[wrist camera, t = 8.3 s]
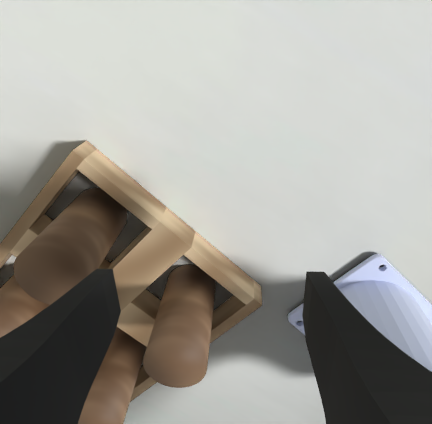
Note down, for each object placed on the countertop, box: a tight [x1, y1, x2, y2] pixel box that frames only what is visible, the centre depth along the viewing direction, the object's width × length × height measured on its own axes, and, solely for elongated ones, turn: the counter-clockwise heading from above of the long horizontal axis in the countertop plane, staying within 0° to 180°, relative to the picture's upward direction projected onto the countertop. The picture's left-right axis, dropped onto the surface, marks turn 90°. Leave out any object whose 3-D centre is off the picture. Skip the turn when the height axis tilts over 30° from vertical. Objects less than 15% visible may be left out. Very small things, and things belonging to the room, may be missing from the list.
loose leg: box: [13, 188, 127, 305], centre depth 20 cm, size 4×4×7 cm
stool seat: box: [0, 141, 262, 424], centre depth 23 cm, size 15×15×7 cm
